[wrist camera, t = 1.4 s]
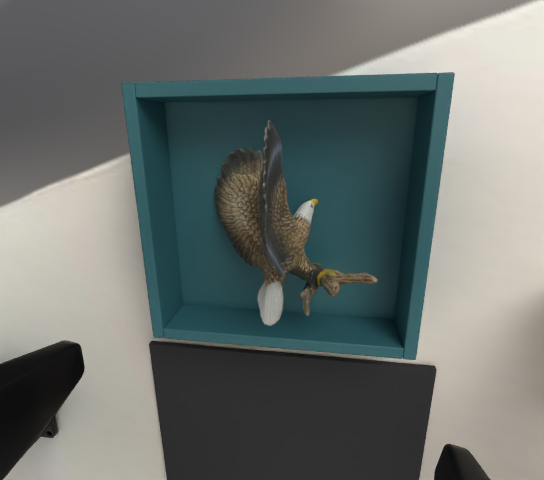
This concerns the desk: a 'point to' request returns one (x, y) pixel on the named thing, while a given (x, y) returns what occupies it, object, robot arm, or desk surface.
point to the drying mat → (288, 415)
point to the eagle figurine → (271, 227)
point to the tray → (292, 204)
